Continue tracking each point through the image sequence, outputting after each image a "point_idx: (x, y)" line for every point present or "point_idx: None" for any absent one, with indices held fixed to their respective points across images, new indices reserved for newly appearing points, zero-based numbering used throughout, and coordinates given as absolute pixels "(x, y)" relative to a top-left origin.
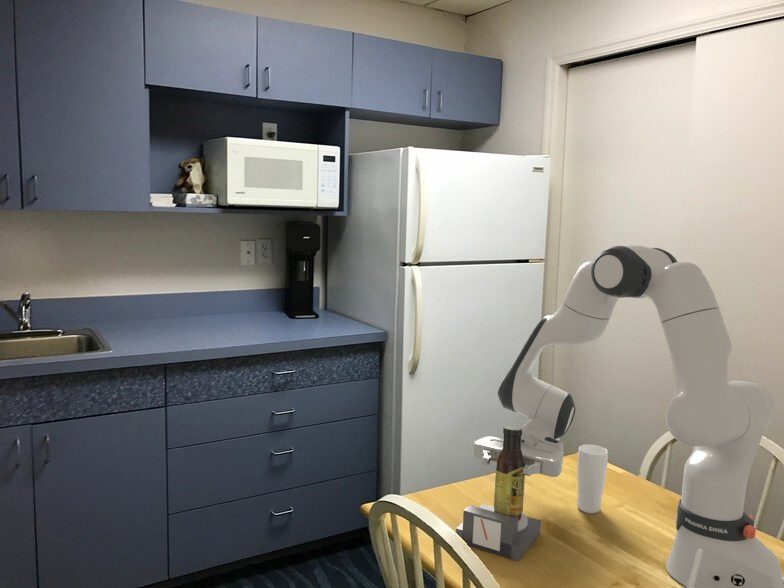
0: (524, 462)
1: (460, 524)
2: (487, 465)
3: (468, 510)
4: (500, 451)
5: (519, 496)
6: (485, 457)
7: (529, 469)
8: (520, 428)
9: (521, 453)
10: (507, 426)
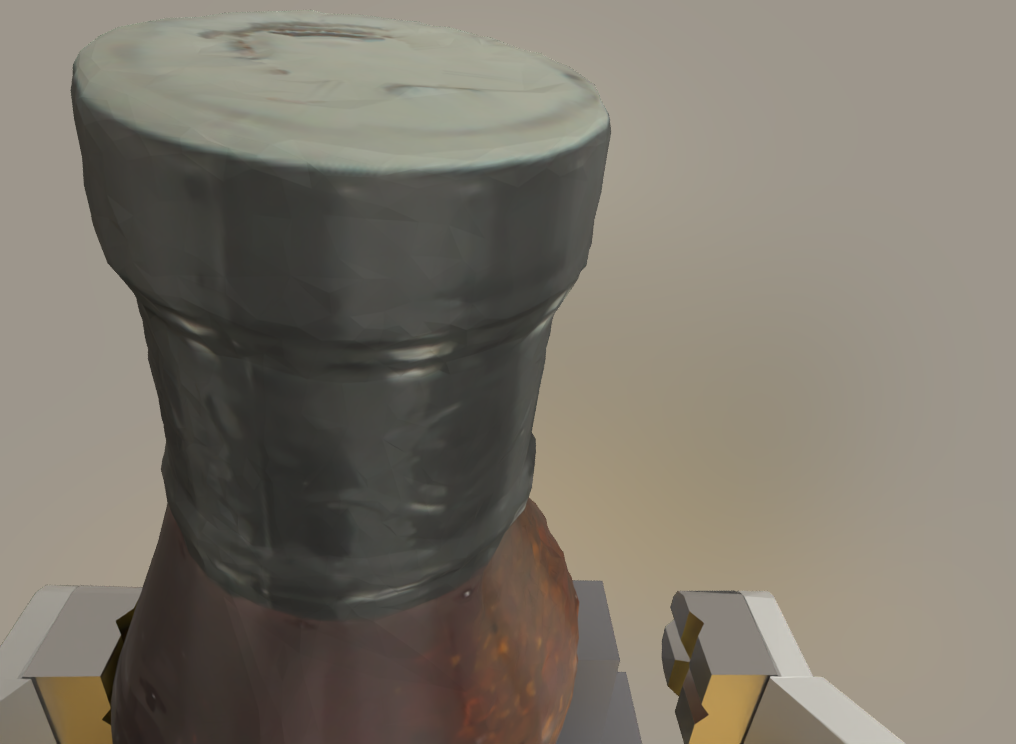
0: (120, 666)
1: (636, 725)
2: (663, 644)
3: (577, 593)
4: (559, 555)
5: None
6: (735, 600)
7: (50, 587)
8: (124, 54)
9: (161, 530)
10: (535, 94)
